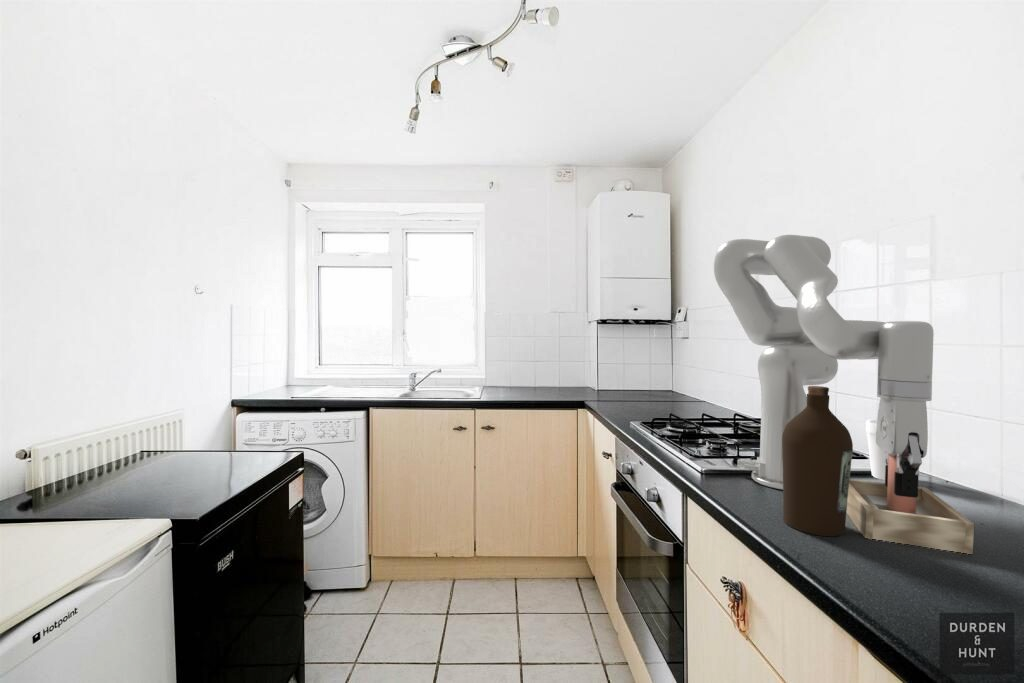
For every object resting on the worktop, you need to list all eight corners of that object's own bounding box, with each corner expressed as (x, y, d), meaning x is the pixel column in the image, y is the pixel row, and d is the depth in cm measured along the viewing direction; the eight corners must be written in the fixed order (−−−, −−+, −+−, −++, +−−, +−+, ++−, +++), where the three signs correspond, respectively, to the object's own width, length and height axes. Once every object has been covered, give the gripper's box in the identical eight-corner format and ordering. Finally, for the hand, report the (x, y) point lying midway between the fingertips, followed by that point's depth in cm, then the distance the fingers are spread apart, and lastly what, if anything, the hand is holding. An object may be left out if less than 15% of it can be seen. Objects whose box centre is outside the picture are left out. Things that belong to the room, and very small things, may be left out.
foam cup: (910, 476, 115) (913, 422, 114) (917, 487, 107) (920, 429, 106) (862, 469, 120) (864, 418, 119) (865, 479, 112) (867, 424, 111)
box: (865, 538, 80) (866, 509, 80) (838, 502, 97) (839, 477, 97) (972, 555, 75) (974, 523, 75) (925, 513, 92) (926, 487, 91)
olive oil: (775, 527, 84) (780, 387, 83) (782, 509, 93) (787, 381, 92) (849, 544, 78) (855, 393, 77) (849, 523, 87) (855, 386, 86)
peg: (891, 511, 84) (893, 444, 84) (883, 503, 88) (885, 439, 88) (919, 514, 83) (921, 446, 82) (910, 507, 86) (912, 441, 86)
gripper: (864, 384, 94) (861, 476, 95) (894, 394, 79) (891, 504, 79) (911, 386, 91) (908, 481, 92) (952, 397, 76) (949, 511, 76)
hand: (900, 490), depth 85 cm, fingers closed on peg, 4 cm apart
